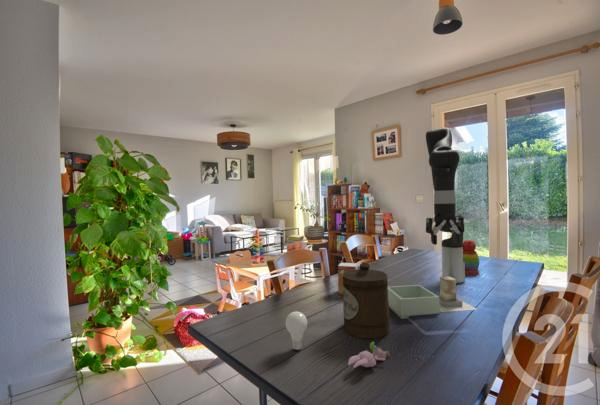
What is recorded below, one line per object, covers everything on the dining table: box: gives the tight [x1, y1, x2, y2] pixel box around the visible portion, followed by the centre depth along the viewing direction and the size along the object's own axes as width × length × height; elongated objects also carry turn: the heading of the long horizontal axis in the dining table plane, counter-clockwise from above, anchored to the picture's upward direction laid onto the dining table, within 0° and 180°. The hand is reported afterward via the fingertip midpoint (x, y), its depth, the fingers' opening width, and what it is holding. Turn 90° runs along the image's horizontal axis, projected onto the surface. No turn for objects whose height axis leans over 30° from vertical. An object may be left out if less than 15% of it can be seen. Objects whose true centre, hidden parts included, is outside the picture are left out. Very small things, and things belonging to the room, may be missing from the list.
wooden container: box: [342, 261, 390, 339], centre depth 98 cm, size 15×15×22 cm
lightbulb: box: [285, 311, 308, 351], centre depth 86 cm, size 6×6×11 cm
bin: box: [388, 284, 440, 320], centre depth 112 cm, size 14×14×7 cm
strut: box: [439, 276, 457, 301], centre depth 114 cm, size 4×4×10 cm
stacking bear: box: [462, 239, 480, 276], centre depth 159 cm, size 11×10×18 cm
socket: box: [437, 295, 478, 313], centre depth 114 cm, size 14×14×3 cm
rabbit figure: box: [347, 341, 390, 369], centre depth 77 cm, size 6×6×15 cm
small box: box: [337, 262, 358, 295], centre depth 133 cm, size 8×6×13 cm
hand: (445, 243), depth 114 cm, fingers open, 8 cm apart
